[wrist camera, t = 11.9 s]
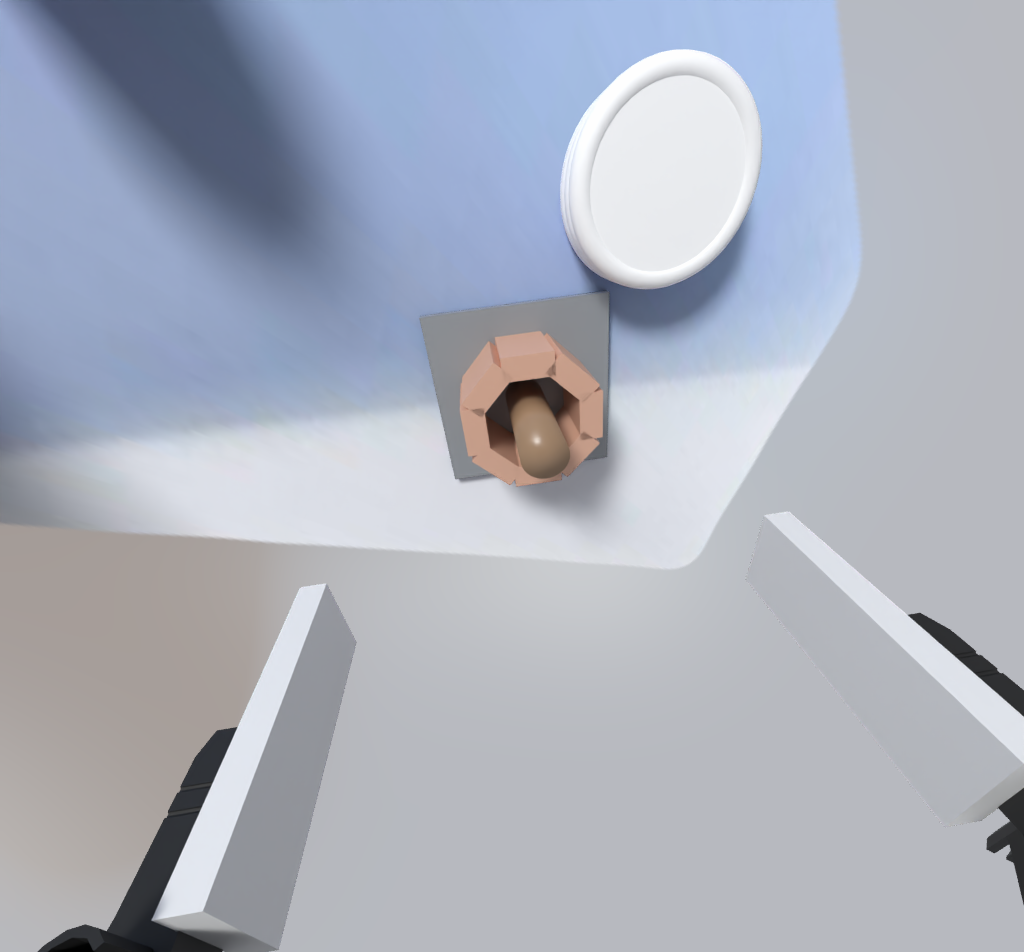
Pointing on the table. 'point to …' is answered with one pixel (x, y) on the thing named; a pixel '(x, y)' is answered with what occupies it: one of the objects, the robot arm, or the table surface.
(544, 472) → the post block
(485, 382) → the ring
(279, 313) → the table surface
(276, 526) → the table surface
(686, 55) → the coaster
